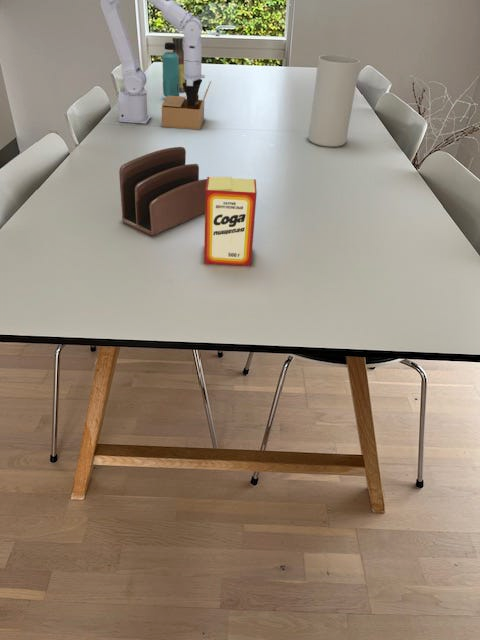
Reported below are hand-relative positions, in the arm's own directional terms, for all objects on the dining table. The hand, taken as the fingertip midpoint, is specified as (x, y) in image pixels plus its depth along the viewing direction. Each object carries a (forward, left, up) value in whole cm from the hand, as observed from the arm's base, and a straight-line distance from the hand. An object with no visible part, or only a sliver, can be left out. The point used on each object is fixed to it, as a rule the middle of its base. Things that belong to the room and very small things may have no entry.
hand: (192, 103), depth 182 cm
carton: (-3, 0, -6) cm, 7 cm away
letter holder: (+4, -75, -7) cm, 75 cm away
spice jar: (0, 0, -1) cm, 1 cm away
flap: (+4, 0, +4) cm, 6 cm away
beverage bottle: (-12, +30, -7) cm, 33 cm away
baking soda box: (+19, -92, -7) cm, 94 cm away
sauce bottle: (-11, +45, -7) cm, 47 cm away
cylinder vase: (+46, -9, -7) cm, 47 cm away
